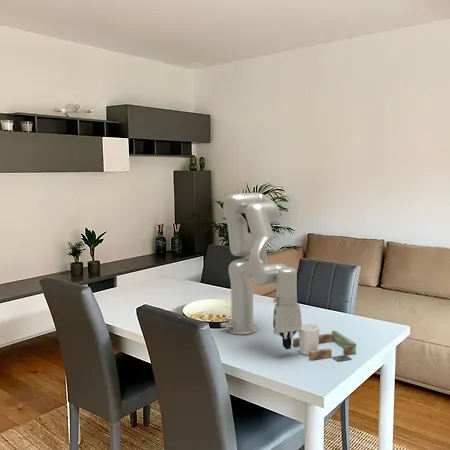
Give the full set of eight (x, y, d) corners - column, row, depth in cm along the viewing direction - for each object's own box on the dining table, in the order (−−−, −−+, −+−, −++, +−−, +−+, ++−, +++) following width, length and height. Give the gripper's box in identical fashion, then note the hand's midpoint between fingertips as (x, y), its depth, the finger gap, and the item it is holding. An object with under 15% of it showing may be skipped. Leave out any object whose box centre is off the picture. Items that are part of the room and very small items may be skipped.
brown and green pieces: (316, 365, 166) (316, 354, 165) (288, 342, 188) (288, 332, 188) (362, 358, 172) (362, 347, 171) (329, 336, 194) (329, 327, 193)
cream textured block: (296, 348, 182) (296, 323, 180) (315, 347, 182) (316, 323, 181) (301, 356, 174) (301, 331, 173) (321, 355, 174) (322, 330, 173)
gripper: (272, 305, 167) (272, 354, 169) (309, 301, 171) (309, 348, 173) (264, 300, 174) (264, 347, 176) (300, 296, 178) (300, 342, 180)
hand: (287, 347), depth 174 cm, fingers closed
